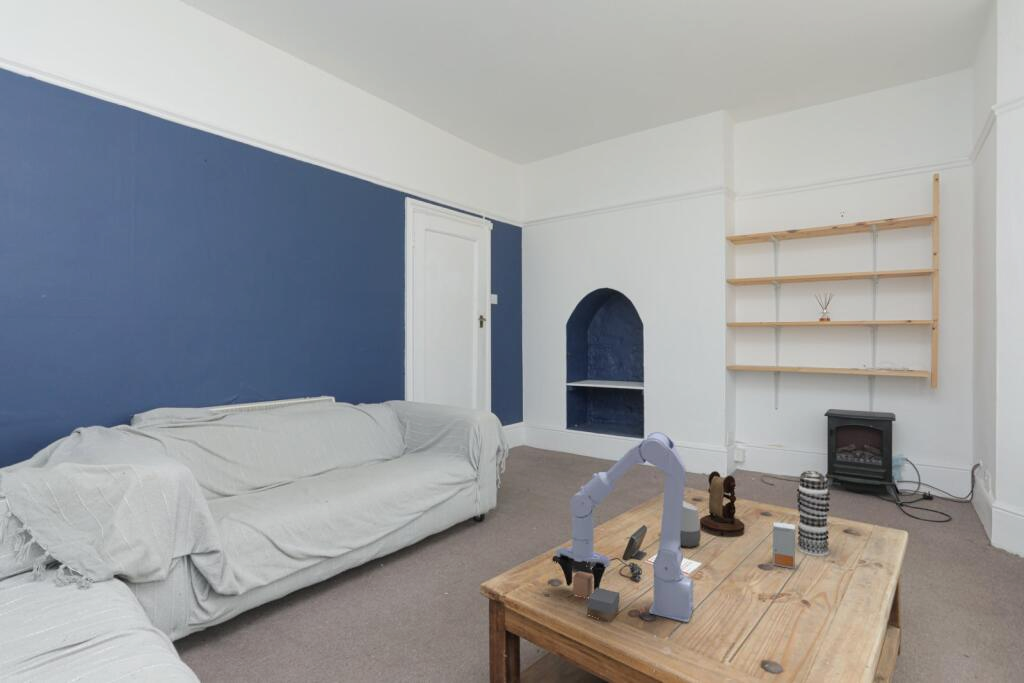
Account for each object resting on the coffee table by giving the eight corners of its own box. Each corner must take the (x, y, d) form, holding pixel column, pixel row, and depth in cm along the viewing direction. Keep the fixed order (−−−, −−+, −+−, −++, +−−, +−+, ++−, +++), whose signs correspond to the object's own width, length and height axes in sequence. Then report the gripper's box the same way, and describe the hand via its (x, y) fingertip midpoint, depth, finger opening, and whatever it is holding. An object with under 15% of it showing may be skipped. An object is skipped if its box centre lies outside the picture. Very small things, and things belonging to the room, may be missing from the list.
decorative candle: (828, 559, 162) (828, 478, 162) (794, 551, 168) (794, 473, 167) (831, 549, 169) (831, 472, 169) (799, 542, 175) (799, 467, 175)
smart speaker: (704, 549, 170) (704, 506, 170) (675, 549, 170) (675, 506, 170) (695, 538, 179) (695, 497, 179) (667, 538, 180) (667, 497, 179)
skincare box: (772, 565, 158) (772, 525, 158) (772, 560, 162) (772, 521, 161) (795, 569, 155) (795, 529, 155) (795, 564, 159) (795, 524, 159)
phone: (569, 551, 167) (604, 567, 155) (569, 554, 167) (604, 571, 155) (550, 557, 163) (584, 574, 150) (550, 560, 163) (584, 578, 150)
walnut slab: (618, 612, 132) (618, 602, 132) (611, 623, 127) (610, 613, 127) (595, 606, 135) (595, 596, 135) (587, 617, 130) (587, 607, 130)
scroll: (690, 526, 191) (690, 471, 190) (721, 519, 197) (721, 466, 197) (722, 540, 177) (722, 481, 177) (754, 533, 184) (754, 476, 183)
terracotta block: (592, 592, 142) (592, 574, 142) (587, 599, 138) (587, 580, 138) (578, 589, 144) (578, 570, 144) (573, 595, 140) (573, 576, 140)
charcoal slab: (619, 602, 132) (619, 592, 132) (612, 614, 127) (612, 603, 127) (596, 597, 135) (596, 587, 135) (588, 608, 130) (588, 597, 130)
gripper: (551, 537, 141) (551, 587, 141) (604, 547, 134) (604, 600, 134) (562, 528, 147) (562, 576, 147) (612, 537, 140) (612, 588, 140)
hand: (582, 587), depth 141 cm, fingers open, 7 cm apart
